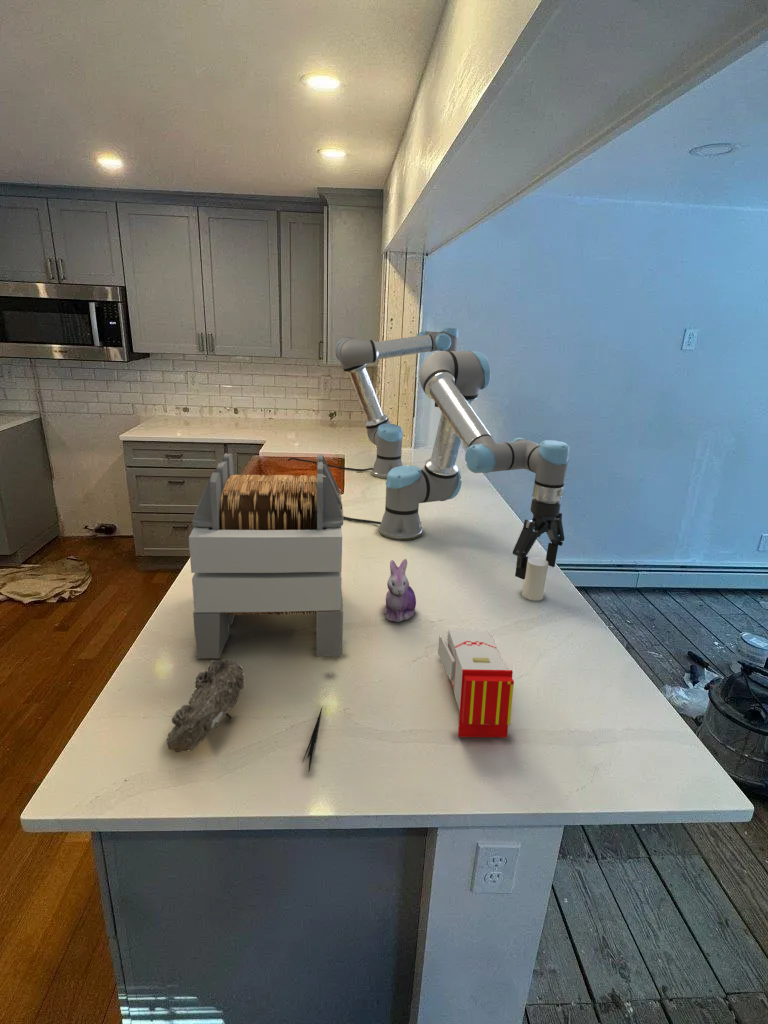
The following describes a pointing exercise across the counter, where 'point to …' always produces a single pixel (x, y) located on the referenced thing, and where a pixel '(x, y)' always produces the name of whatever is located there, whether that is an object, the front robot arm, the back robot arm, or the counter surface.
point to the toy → (478, 682)
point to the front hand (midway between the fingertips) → (535, 571)
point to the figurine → (399, 594)
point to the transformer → (267, 553)
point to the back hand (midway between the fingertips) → (444, 405)
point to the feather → (313, 740)
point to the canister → (535, 578)
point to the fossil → (206, 705)
